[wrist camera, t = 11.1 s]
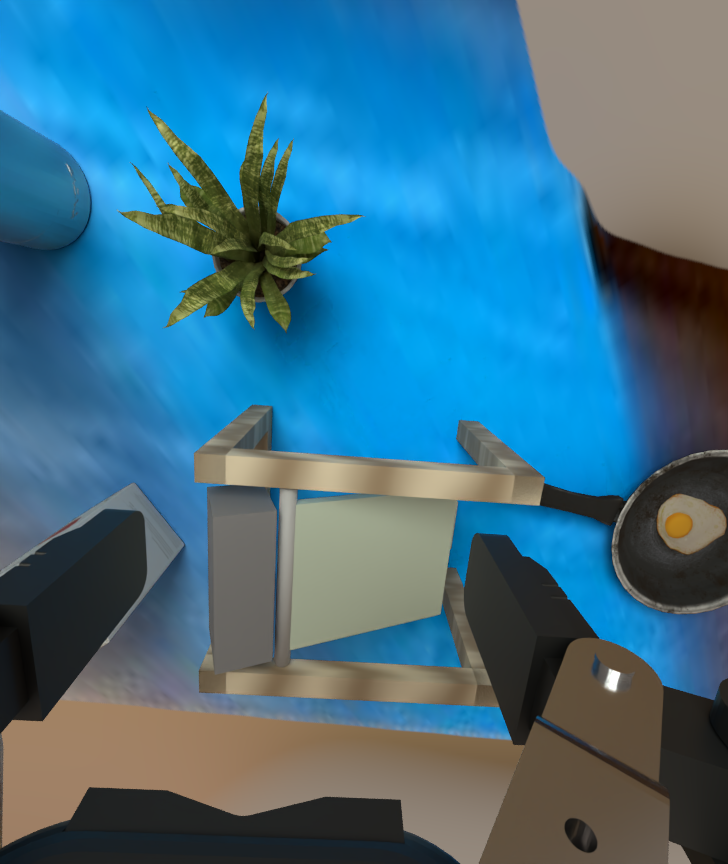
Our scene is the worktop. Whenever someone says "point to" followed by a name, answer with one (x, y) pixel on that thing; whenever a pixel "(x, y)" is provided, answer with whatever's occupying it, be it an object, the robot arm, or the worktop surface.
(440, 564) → the trapdoor
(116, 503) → the supplement box
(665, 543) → the frying pan
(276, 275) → the house plant
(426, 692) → the frame
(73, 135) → the worktop surface
